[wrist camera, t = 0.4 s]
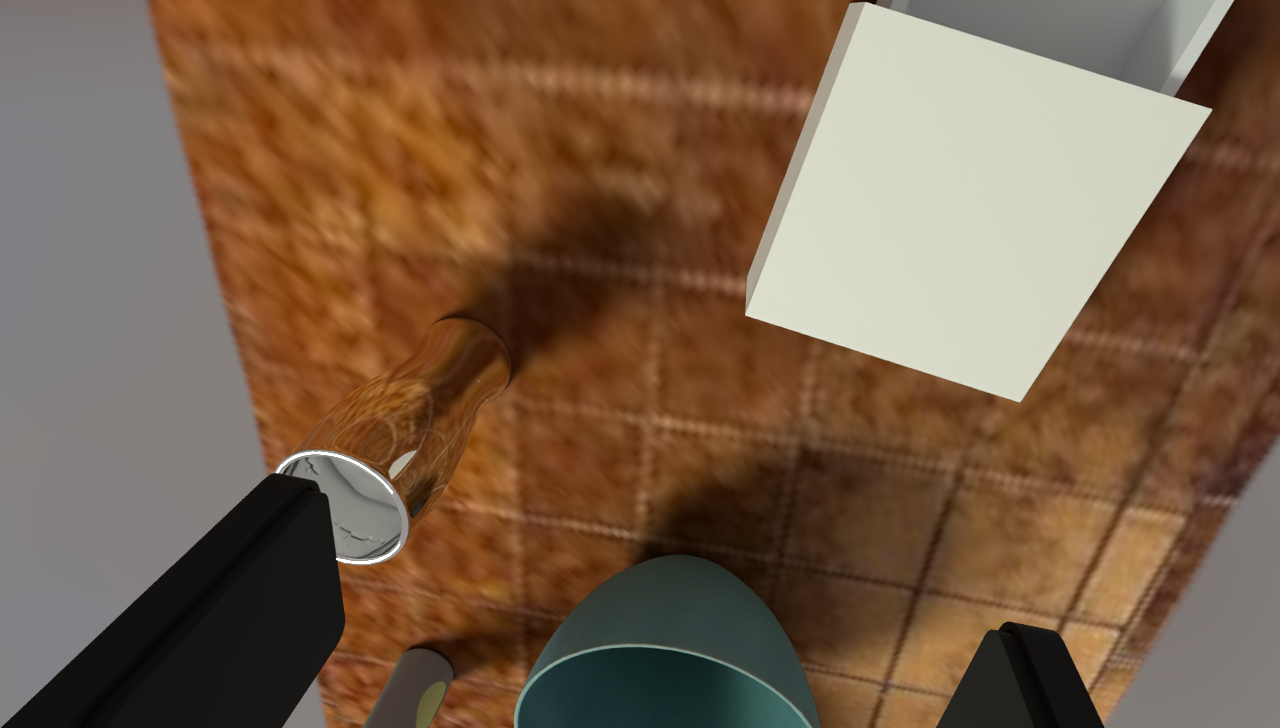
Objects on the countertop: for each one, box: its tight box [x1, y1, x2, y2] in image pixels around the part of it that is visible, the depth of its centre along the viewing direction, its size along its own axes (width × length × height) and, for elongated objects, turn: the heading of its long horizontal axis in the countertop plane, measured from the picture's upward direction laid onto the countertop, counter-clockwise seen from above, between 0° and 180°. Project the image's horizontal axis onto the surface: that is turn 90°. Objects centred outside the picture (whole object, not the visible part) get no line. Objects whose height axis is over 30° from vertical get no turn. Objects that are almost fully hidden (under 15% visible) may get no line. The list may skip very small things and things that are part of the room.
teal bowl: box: [514, 555, 821, 728], centre depth 45 cm, size 18×18×12 cm
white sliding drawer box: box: [876, 0, 1234, 97], centre depth 29 cm, size 24×12×4 cm, turn 165°
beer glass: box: [273, 317, 511, 565], centre depth 37 cm, size 7×7×15 cm
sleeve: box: [745, 2, 1213, 402], centre depth 32 cm, size 14×14×6 cm
